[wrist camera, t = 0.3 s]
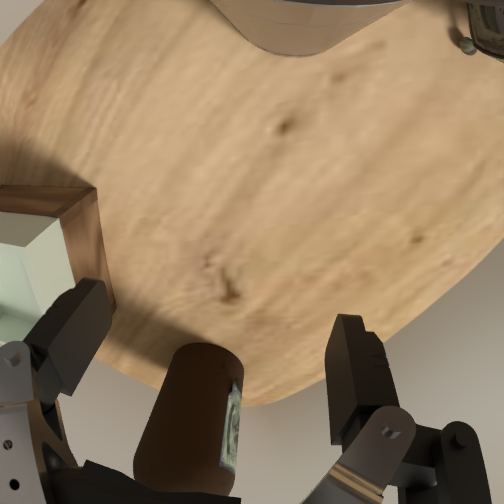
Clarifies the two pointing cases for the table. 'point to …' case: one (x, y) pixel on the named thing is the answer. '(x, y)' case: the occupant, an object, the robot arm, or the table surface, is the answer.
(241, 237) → the table surface
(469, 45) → the tabletop clock
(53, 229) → the sage crate
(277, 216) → the table surface
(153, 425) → the olive oil
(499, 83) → the table surface
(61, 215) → the walnut crate
